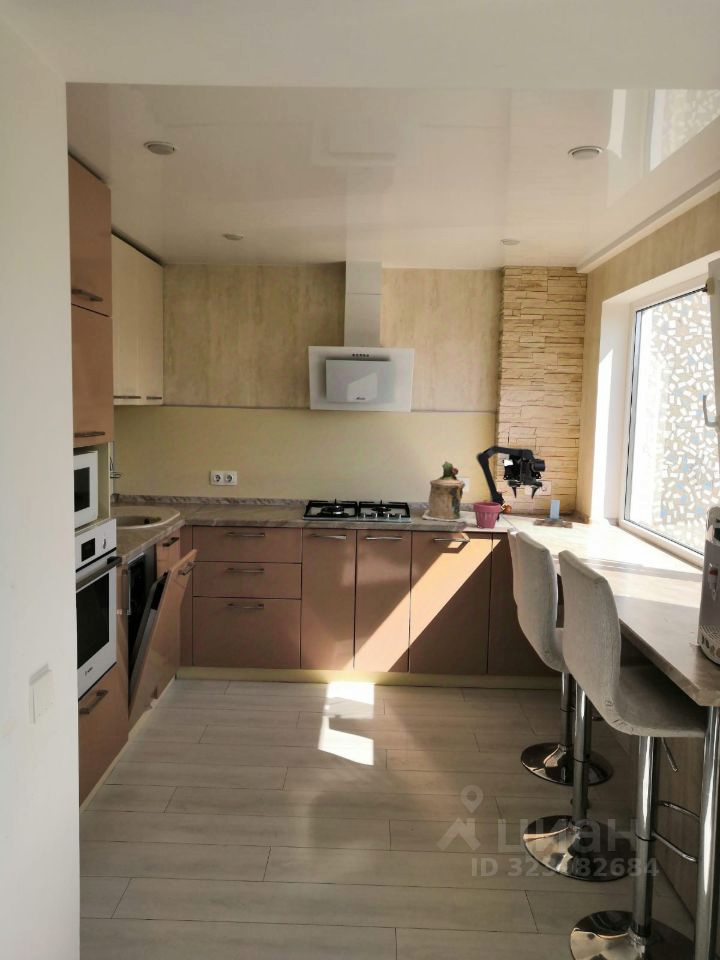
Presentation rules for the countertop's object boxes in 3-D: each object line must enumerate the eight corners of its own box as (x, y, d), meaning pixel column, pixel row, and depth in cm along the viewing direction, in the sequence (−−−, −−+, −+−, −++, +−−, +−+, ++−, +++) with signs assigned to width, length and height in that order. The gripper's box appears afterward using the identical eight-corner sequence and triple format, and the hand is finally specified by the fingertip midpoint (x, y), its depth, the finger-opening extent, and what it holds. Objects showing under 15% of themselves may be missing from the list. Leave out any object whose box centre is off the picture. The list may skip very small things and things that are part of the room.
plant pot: (481, 530, 389) (482, 506, 387) (467, 525, 401) (468, 501, 400) (504, 529, 394) (506, 505, 393) (489, 524, 407) (491, 501, 406)
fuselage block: (549, 523, 413) (551, 500, 412) (549, 521, 418) (551, 499, 416) (558, 523, 412) (559, 501, 411) (558, 522, 417) (559, 500, 415)
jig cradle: (534, 525, 411) (535, 517, 411) (535, 521, 424) (535, 514, 423) (572, 528, 407) (573, 520, 406) (571, 524, 419) (572, 517, 419)
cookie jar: (421, 519, 412) (424, 462, 408) (425, 513, 436) (428, 458, 432) (466, 523, 408) (470, 465, 404) (467, 516, 432) (471, 461, 428)
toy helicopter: (513, 513, 449) (514, 490, 448) (487, 515, 438) (488, 492, 437) (503, 511, 456) (505, 489, 455) (477, 512, 445) (479, 490, 444)
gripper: (512, 472, 410) (510, 500, 412) (546, 473, 411) (543, 501, 413) (508, 469, 421) (506, 497, 423) (540, 471, 422) (538, 498, 424)
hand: (523, 498), depth 420 cm, fingers open, 9 cm apart
